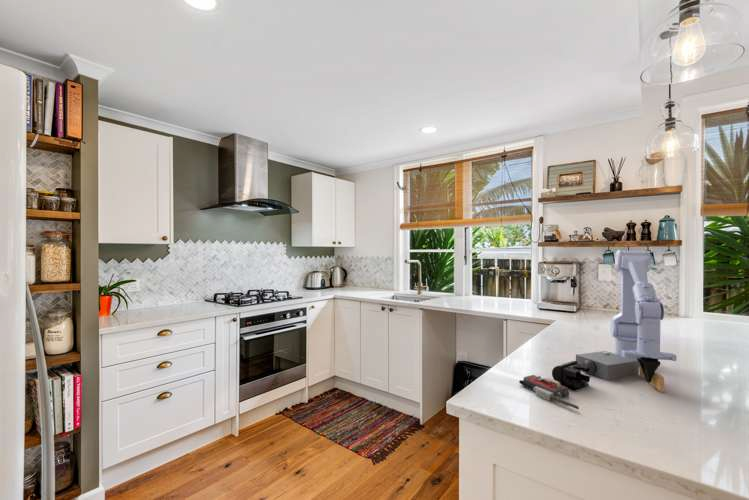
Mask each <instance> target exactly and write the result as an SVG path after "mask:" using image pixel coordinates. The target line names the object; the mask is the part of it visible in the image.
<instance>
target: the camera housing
mask: <svg viewBox="0 0 749 500" xmlns="http://www.w3.org/2000/svg"><path fill="white" fill-rule="evenodd" d="M575 361H577V362H578V364H580V365H584V366H587V367H590V372H586V371H583V372H584V373H585V374H586V375H587V374H588V375H592V376H595V377H598V378H601V379H603V380H606V381H612V380H617V379H623V378H629V377H636V376H640V365H639V362H638V360H634V359H631V358H624V357H622V356H621V355H617V354H615V352H610V351H606V350H604V351H603V350H602V351H595V352H594V351H593V352H587V353H585V352H584V353H579V354H577V353H576V354H575Z"/></svg>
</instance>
